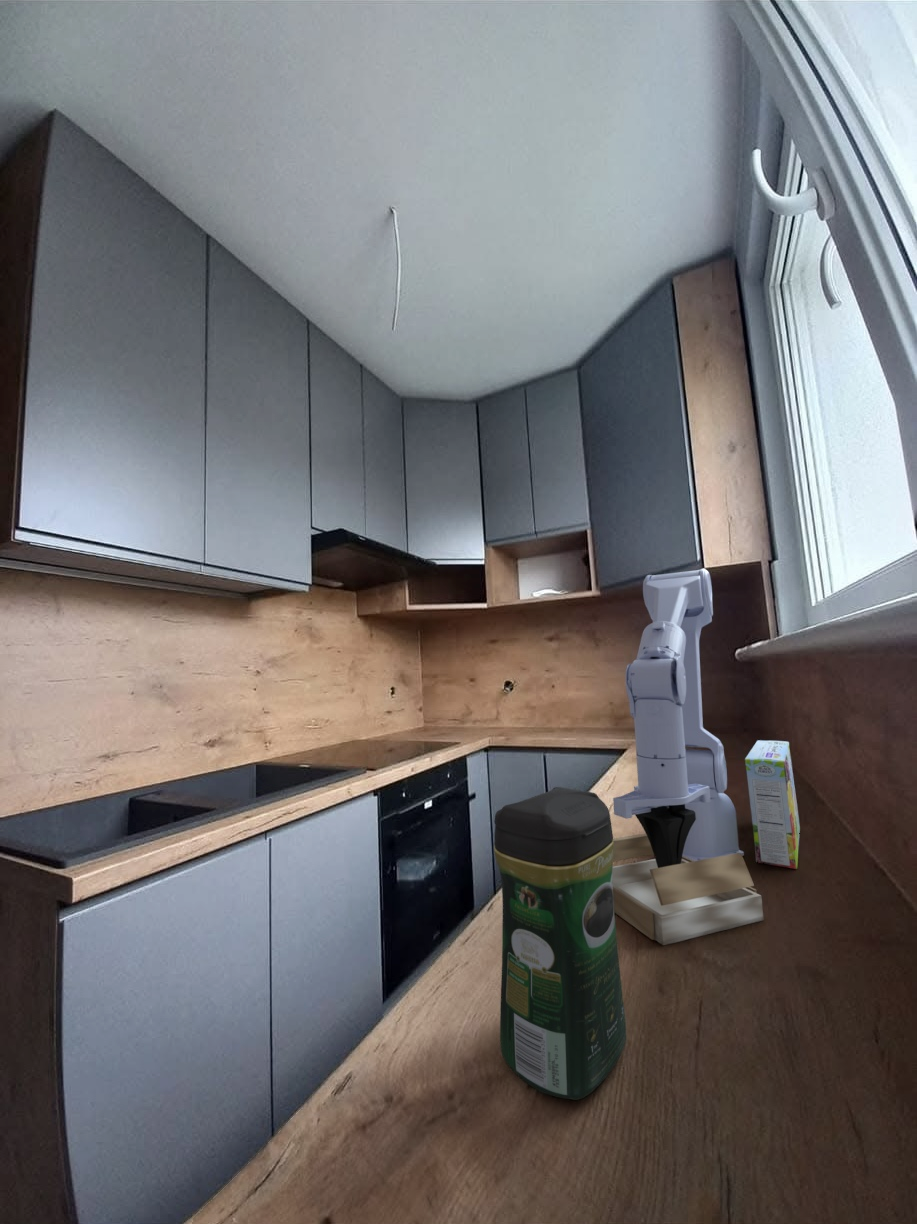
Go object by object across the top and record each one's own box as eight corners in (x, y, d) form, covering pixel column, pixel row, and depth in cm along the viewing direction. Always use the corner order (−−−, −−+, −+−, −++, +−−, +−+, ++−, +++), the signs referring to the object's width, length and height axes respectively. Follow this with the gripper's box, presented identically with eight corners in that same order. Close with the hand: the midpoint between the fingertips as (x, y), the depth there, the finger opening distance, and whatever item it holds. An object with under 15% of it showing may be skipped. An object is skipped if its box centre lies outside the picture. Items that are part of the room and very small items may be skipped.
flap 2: (751, 885, 55) (738, 853, 57) (754, 885, 55) (740, 852, 57) (661, 905, 51) (649, 869, 53) (663, 905, 51) (651, 869, 52)
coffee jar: (551, 996, 42) (543, 776, 45) (640, 1040, 37) (626, 789, 39) (480, 1062, 35) (474, 797, 38) (578, 1130, 30) (565, 816, 32)
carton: (679, 874, 67) (677, 853, 67) (766, 919, 54) (764, 893, 55) (586, 893, 62) (585, 870, 62) (659, 946, 50) (657, 917, 50)
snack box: (763, 824, 88) (755, 739, 89) (801, 829, 84) (792, 741, 86) (752, 863, 70) (743, 756, 72) (799, 871, 67) (788, 759, 69)
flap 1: (672, 848, 66) (678, 828, 66) (674, 850, 66) (680, 830, 65) (593, 862, 62) (598, 840, 61) (594, 864, 62) (600, 843, 61)
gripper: (674, 746, 67) (681, 849, 65) (593, 755, 61) (599, 870, 59) (721, 753, 61) (731, 868, 59) (636, 765, 54) (644, 893, 53)
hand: (668, 870), depth 59 cm, fingers closed
